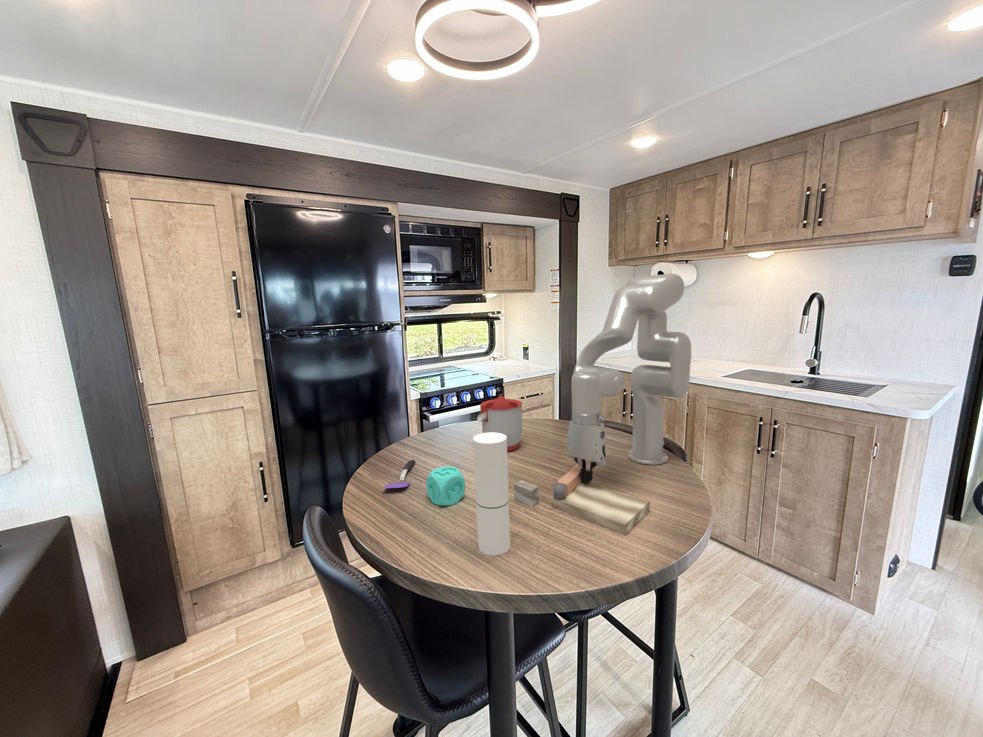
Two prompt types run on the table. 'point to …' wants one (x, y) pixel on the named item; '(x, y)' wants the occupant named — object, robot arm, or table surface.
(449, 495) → the decorative dice
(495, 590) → the table surface
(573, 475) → the stool leg
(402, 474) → the spatula
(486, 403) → the citrus juicer
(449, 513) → the table surface
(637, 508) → the stool seat
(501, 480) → the cylindrical container
